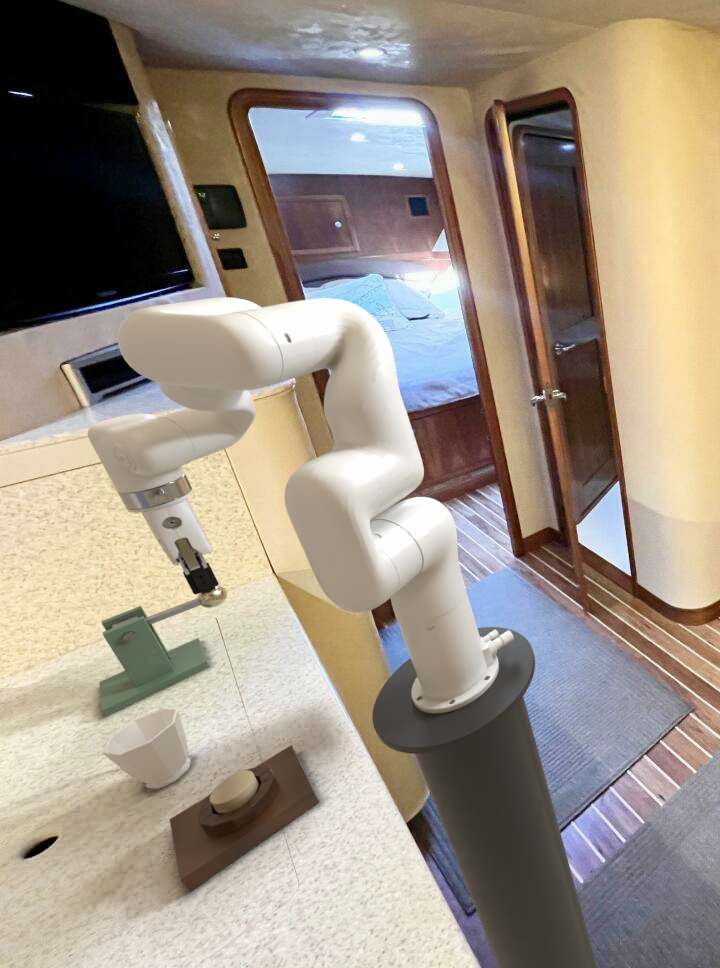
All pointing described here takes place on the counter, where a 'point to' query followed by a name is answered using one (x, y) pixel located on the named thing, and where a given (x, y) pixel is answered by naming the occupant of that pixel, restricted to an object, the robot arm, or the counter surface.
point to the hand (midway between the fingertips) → (206, 588)
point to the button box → (240, 819)
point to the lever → (186, 605)
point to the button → (234, 792)
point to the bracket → (144, 661)
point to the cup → (151, 748)
